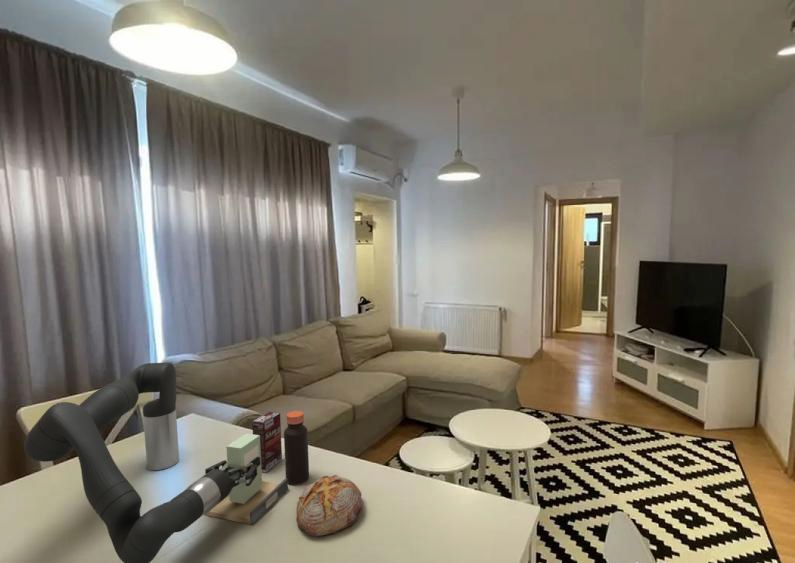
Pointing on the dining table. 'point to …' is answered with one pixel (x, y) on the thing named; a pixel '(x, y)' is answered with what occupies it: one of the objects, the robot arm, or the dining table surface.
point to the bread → (328, 506)
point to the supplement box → (269, 439)
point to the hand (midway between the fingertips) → (251, 459)
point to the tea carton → (241, 455)
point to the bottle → (296, 449)
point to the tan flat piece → (250, 504)
